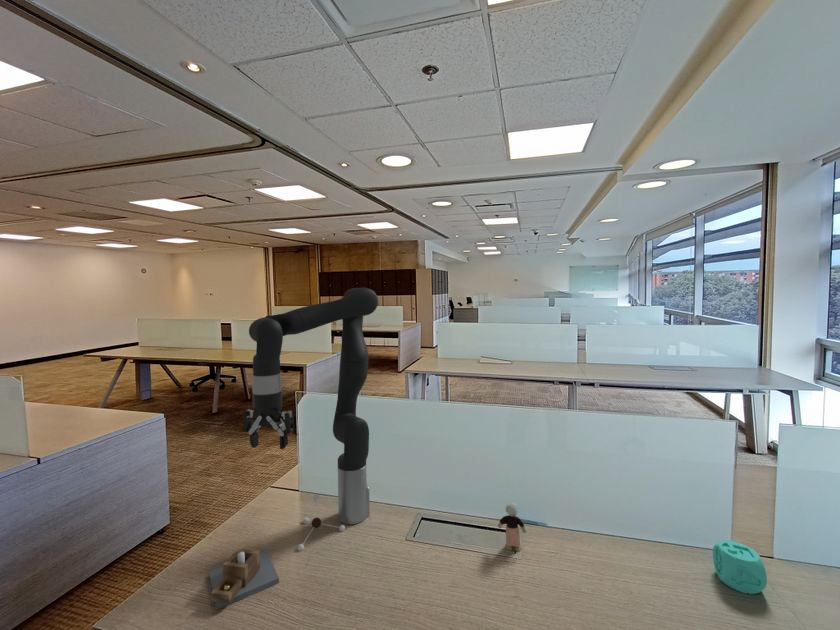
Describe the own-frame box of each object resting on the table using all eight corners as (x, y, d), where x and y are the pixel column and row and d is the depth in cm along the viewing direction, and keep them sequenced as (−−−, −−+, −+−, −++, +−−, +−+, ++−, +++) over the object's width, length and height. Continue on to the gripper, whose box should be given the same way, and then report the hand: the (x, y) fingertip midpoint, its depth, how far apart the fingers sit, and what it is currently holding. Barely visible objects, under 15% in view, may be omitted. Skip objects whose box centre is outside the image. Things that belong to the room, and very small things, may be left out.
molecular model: (297, 553, 105) (296, 509, 104) (303, 522, 119) (302, 484, 119) (345, 546, 107) (344, 504, 107) (345, 516, 122) (344, 479, 121)
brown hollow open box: (259, 569, 96) (259, 550, 96) (231, 603, 85) (231, 582, 85) (239, 567, 97) (238, 548, 97) (208, 600, 86) (207, 580, 86)
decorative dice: (766, 598, 87) (767, 565, 86) (725, 589, 89) (725, 557, 89) (750, 574, 94) (750, 544, 94) (712, 567, 97) (712, 537, 97)
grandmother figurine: (524, 543, 107) (524, 500, 107) (526, 552, 103) (526, 508, 103) (497, 541, 108) (497, 499, 107) (498, 550, 104) (498, 506, 103)
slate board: (266, 554, 104) (265, 529, 103) (279, 582, 93) (278, 554, 93) (209, 576, 96) (208, 549, 95) (216, 610, 85) (215, 579, 85)
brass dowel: (229, 591, 89) (229, 583, 89) (230, 594, 88) (230, 586, 88) (223, 593, 88) (223, 585, 88) (224, 596, 87) (224, 588, 87)
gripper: (297, 387, 105) (299, 443, 106) (252, 386, 108) (253, 441, 108) (283, 394, 98) (285, 454, 98) (235, 392, 100) (237, 451, 101)
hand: (269, 447), depth 103 cm, fingers open, 8 cm apart
